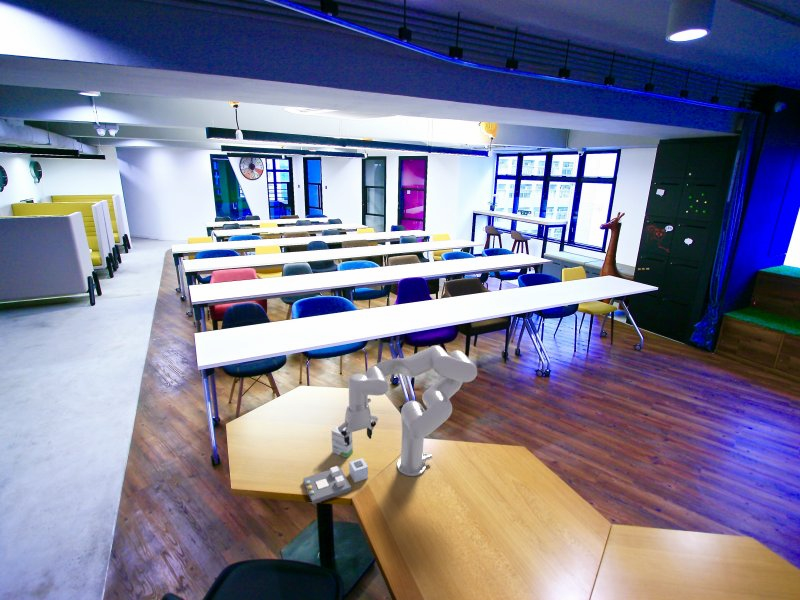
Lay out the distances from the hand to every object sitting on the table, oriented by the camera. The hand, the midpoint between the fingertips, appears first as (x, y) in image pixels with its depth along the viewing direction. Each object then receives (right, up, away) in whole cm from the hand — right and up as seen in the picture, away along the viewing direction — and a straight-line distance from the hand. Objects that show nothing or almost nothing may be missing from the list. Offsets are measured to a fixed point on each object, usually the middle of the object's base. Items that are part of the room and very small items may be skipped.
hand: (358, 440), depth 169 cm
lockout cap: (0, -17, +6) cm, 18 cm away
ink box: (-9, -12, +20) cm, 25 cm away
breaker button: (-15, -19, -2) cm, 24 cm away
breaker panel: (-13, -19, 0) cm, 23 cm away
